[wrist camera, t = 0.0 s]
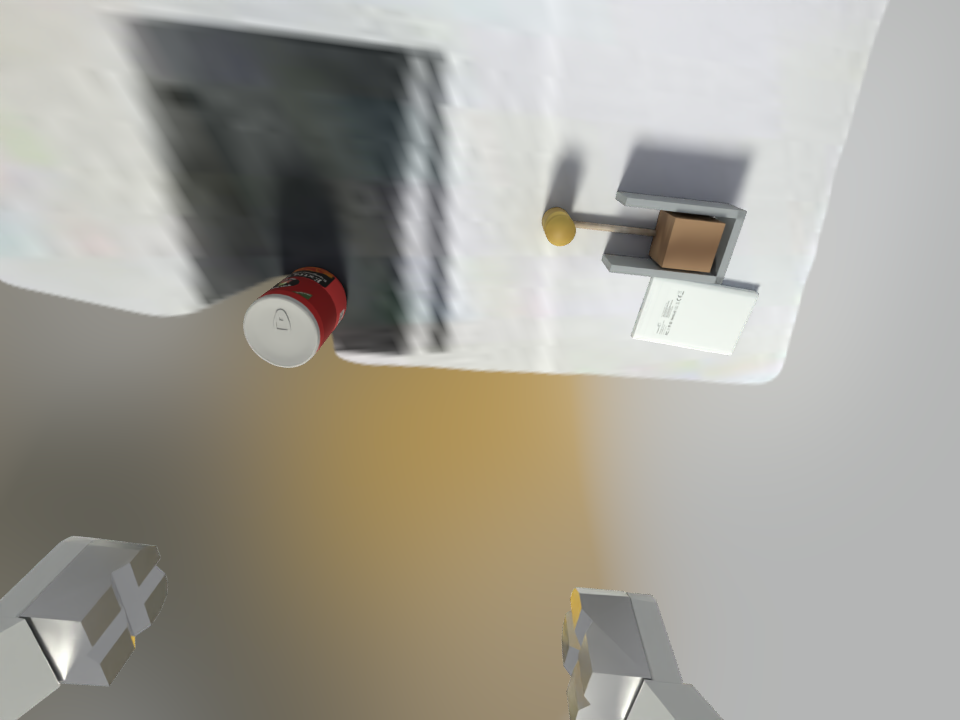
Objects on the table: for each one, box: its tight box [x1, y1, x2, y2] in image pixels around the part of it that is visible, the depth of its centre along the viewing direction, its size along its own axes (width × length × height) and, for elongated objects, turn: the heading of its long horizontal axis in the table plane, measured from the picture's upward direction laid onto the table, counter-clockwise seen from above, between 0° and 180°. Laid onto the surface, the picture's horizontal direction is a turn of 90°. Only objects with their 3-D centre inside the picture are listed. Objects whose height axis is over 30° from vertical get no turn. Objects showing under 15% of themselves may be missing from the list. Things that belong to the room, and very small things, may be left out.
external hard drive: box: [631, 277, 759, 355], centre depth 57 cm, size 2×8×12 cm
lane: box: [602, 191, 747, 285], centre depth 51 cm, size 8×12×4 cm, turn 84°
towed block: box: [542, 207, 725, 273], centre depth 50 cm, size 5×18×5 cm, turn 84°
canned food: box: [243, 267, 346, 368], centre depth 53 cm, size 8×8×11 cm
